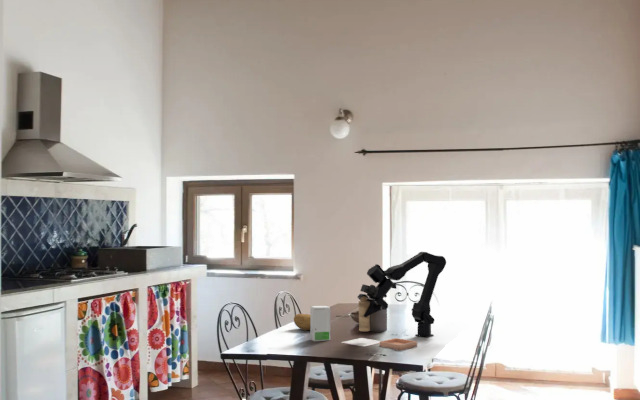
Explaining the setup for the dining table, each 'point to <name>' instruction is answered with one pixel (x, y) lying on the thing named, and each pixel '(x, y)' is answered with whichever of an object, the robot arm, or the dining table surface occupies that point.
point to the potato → (302, 321)
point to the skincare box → (320, 323)
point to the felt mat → (362, 342)
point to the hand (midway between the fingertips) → (361, 315)
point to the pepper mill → (363, 321)
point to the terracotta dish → (398, 344)
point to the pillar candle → (378, 321)
